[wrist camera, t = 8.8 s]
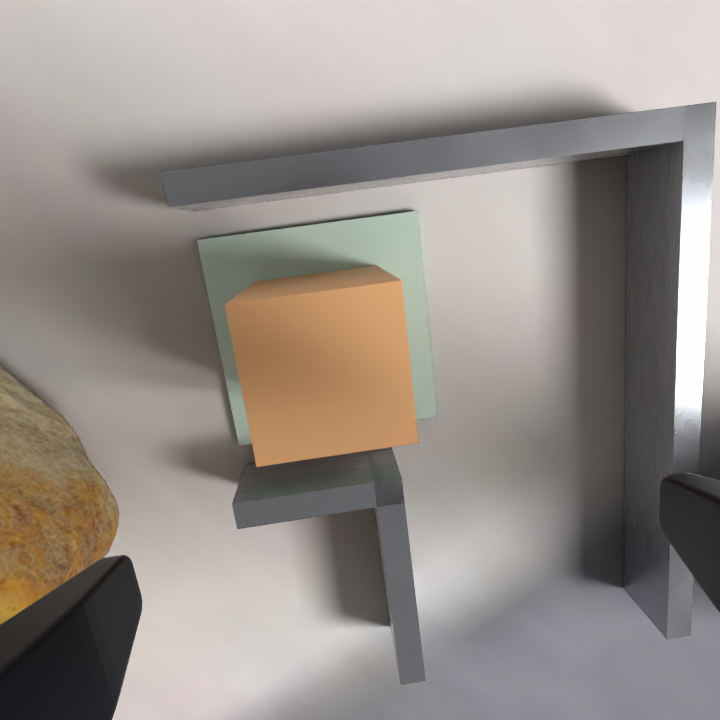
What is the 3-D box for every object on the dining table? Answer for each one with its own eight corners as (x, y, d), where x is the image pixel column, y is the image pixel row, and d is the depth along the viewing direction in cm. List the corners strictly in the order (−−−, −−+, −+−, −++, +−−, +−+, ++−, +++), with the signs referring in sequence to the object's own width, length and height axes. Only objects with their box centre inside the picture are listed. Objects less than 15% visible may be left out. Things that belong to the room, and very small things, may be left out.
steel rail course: (654, 122, 18) (716, 101, 15) (644, 585, 23) (690, 635, 21) (186, 181, 18) (160, 171, 15) (281, 645, 23) (275, 706, 20)
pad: (416, 210, 19) (418, 210, 18) (435, 413, 21) (437, 416, 20) (198, 239, 18) (196, 240, 18) (240, 442, 20) (238, 445, 20)
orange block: (389, 380, 20) (418, 442, 14) (275, 397, 20) (256, 466, 14) (376, 265, 19) (401, 280, 13) (254, 281, 18) (224, 304, 13)
